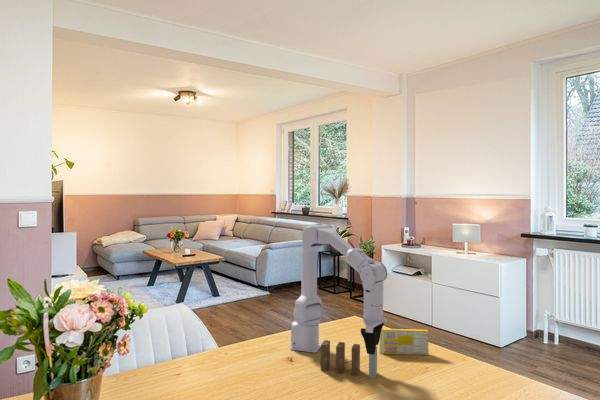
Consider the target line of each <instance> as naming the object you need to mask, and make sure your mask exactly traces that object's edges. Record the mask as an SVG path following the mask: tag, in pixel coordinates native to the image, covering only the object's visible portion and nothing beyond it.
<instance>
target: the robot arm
mask: <svg viewBox="0 0 600 400" xmlns="http://www.w3.org/2000/svg"><path fill="white" fill-rule="evenodd" d="M301 234H302V235H301V236H302V237H301V238H302V240H301V264H300V265H301V268H300V269H301V270H300V271H301V272H300V273H301V286H300V287H301V290H300V291H301V292H300V293H301V294H300V296H299V297H298V298H297V299H296V300H295V302H294V308H293V314H292V315H293V318H294V320H293V322H292V324H291V329H290V348H289V349H290V350H292V351H300V352H307V353H313V354H316V353H317V352H318V351H319V350H320V349H321V344H322V343H323V342H319V341H320V339H319V337H320V336H319V335H320V329H319V328H320V325H319V324H320V322H321V319H322V318H323V317H324V313H325V312H324V306H323V302H322V301H323V299H322V298H321V297H320V296H319V295H318V251H319V250H320V249H321V248H322V247H323V246H325V245H330V246H332V247H333V248H334V249H335V250H337V251H338V252H339V253H340V254H342V255H343V256H345V262H346V263H347V264H348V265H349V266H350V267H352V268H353V269H354V270H355V271H356V272H357V273H358V274H359V278H360V280H361V283H362V288H363V317H362V323H364V325H365V328H363V327H362V328H360V335H361V336H362V338H363V341H364V344H365V345H364V347H365V351H366V353H367V355H369V354H375V350H376V347H377V346H378V345H379V340H380V334H381V330H382V329H383V326H384V325H385V324H386V323H387V322H388V319H387V318H384V281H385V280H386V279H387V277H388V269H387V267H386V266H385V265H384V263H383V262H381V261H375V260H374V259H373V258H371V257H369V256H368V255H367V254H366V253H365V252H364V250H363V249H362V248H358V247H354V248H353V247H352V246H351V245H350V244H349V243H348V242H347V240H345V239H344V238H343V237H342V236H341V235H340V234H339V233H338V231H337V228H336V227H334V226H333V225H332V224H329V223H326V224H316V225H315V224H314V225H313V224H311V225H306V227H305V228H304V229H303V230H302V231H301Z"/></svg>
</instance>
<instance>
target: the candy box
mask: <svg viewBox="0 0 600 400" xmlns="http://www.w3.org/2000/svg"><path fill="white" fill-rule="evenodd" d="M378 345H379V348H378V349H379V354H386V355H387V354H388V355H407V356H408V355H411V356H413V355H414V356H415V355H416V356H429V355H430V354H429V351H430V350H429V330H428V329H421V328H420V329H419V328H415V329H412V328H411V329H409V328H382V330H381V334H380V340H379V344H378Z"/></svg>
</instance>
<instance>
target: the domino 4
mask: <svg viewBox="0 0 600 400" xmlns="http://www.w3.org/2000/svg"><path fill="white" fill-rule="evenodd" d="M377 374H378V346H376V350H375V354H368V378H369V379H376V377H377Z"/></svg>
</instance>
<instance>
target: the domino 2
mask: <svg viewBox="0 0 600 400" xmlns="http://www.w3.org/2000/svg"><path fill="white" fill-rule="evenodd" d="M345 347H346V343H345V341H344V342H341V341H338V343H337V344H336V346H335V373H336V374H343V372H344V370H345V367H346V365H345V364H346V363H345V362H346V361H345V360H346V358H345V357H346V355H345V354H346V352H345V351H346V349H345Z"/></svg>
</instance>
